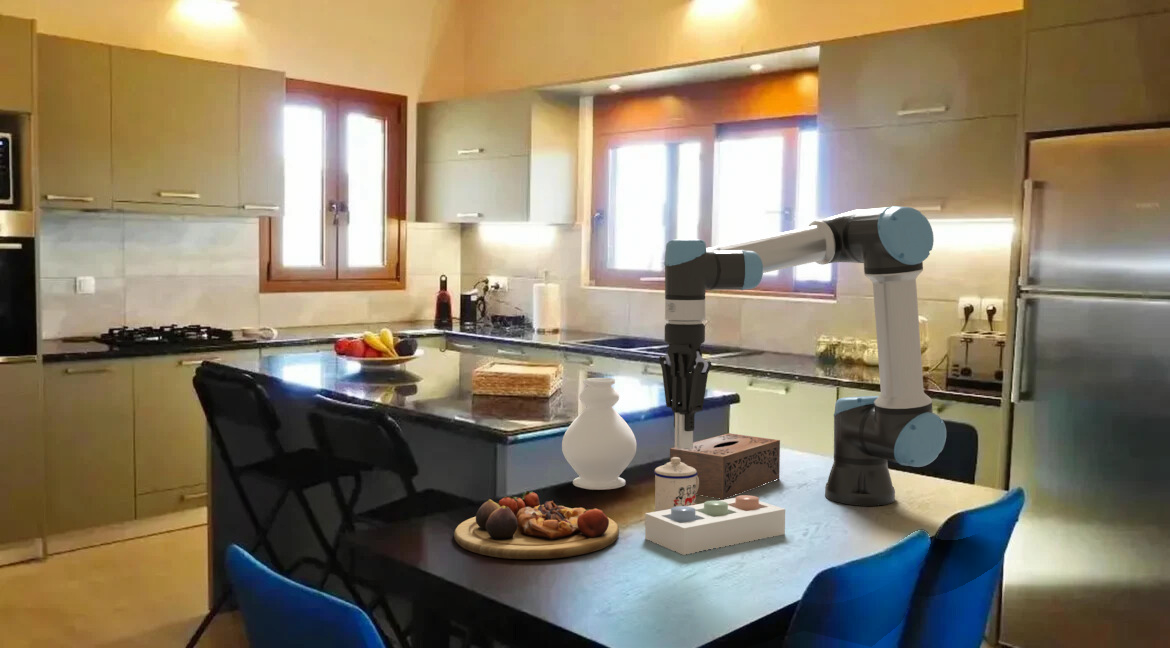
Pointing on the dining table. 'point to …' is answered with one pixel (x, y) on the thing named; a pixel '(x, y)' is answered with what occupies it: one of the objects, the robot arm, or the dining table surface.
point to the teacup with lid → (675, 485)
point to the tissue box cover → (731, 463)
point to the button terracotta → (747, 502)
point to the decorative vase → (599, 439)
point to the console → (714, 527)
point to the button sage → (715, 508)
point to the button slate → (683, 514)
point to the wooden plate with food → (535, 529)
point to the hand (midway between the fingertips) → (683, 447)
